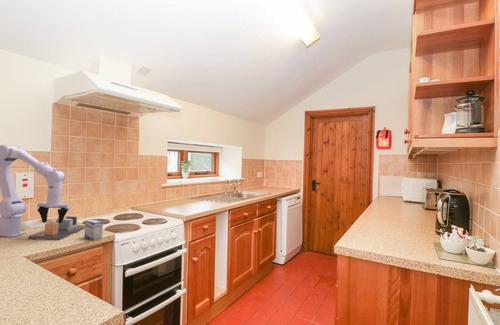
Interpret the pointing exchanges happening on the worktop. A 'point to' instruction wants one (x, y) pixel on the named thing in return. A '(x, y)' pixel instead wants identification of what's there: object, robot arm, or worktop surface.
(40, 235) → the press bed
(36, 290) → the worktop surface
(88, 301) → the worktop surface
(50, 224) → the housing block
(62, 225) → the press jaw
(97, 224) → the medicine box
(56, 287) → the worktop surface
